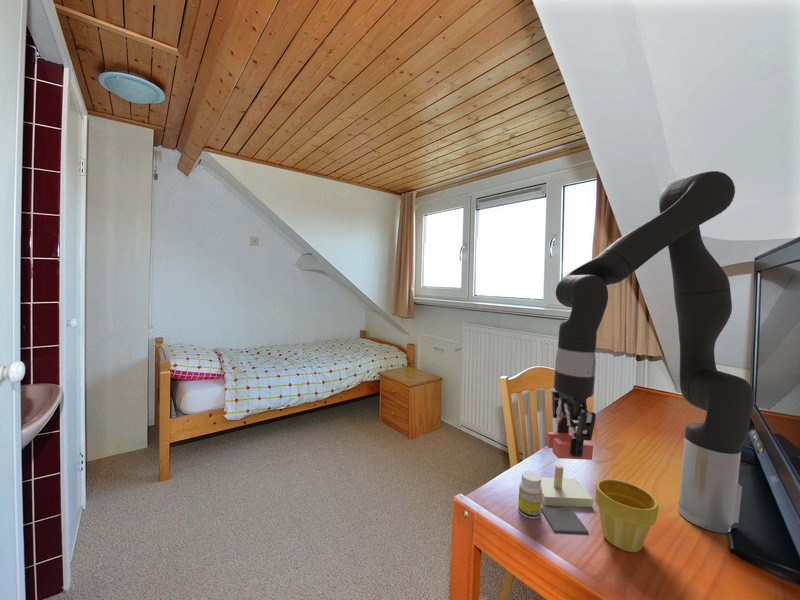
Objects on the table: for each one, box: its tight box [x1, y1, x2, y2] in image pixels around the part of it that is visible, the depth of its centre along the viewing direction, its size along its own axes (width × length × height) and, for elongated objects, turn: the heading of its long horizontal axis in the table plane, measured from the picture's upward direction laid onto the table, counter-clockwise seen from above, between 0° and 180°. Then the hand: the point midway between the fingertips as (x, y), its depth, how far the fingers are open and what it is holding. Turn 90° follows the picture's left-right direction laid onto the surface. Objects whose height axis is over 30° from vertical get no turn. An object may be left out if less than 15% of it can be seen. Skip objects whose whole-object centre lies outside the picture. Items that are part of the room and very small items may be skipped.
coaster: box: [541, 507, 589, 534], centre depth 75 cm, size 7×7×1 cm
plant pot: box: [595, 478, 659, 553], centre depth 70 cm, size 10×10×10 cm
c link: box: [546, 431, 594, 461], centre depth 74 cm, size 7×6×3 cm
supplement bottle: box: [517, 470, 542, 520], centre depth 77 cm, size 5×5×8 cm
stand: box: [540, 464, 594, 508], centre depth 84 cm, size 11×8×7 cm
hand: (568, 448), depth 74 cm, fingers closed on c link, 5 cm apart
